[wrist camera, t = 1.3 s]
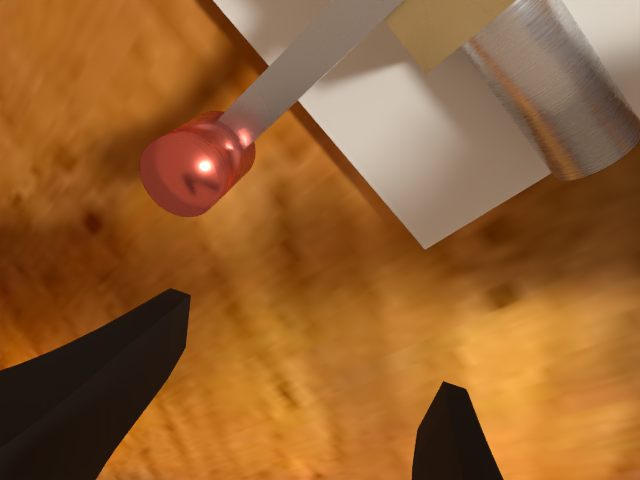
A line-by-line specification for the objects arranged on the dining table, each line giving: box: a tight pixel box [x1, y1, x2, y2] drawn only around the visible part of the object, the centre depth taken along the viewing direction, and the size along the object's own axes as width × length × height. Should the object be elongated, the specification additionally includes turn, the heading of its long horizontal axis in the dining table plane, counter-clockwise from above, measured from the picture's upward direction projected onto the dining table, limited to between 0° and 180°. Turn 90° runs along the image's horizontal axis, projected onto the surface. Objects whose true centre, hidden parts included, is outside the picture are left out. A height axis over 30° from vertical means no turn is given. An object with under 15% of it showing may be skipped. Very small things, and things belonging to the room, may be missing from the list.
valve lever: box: [140, 0, 404, 217], centre depth 12 cm, size 11×2×3 cm, turn 132°
